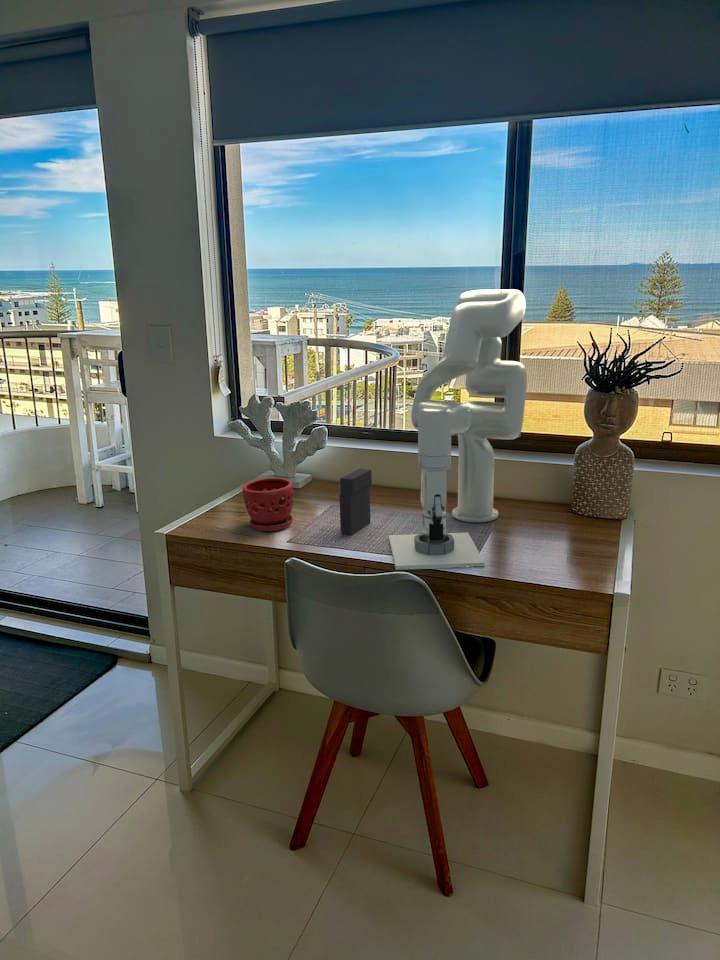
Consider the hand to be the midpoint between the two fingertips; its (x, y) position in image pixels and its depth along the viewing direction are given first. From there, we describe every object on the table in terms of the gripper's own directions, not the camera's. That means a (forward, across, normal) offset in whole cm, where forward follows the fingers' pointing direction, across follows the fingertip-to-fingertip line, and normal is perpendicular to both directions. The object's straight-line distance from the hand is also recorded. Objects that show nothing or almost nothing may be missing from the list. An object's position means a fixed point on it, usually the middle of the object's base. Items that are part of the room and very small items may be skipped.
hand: (434, 534), depth 161 cm
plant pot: (+5, -23, -41) cm, 47 cm away
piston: (+2, 0, 0) cm, 2 cm away
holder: (+4, 0, 0) cm, 4 cm away
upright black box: (+5, -19, -18) cm, 27 cm away
